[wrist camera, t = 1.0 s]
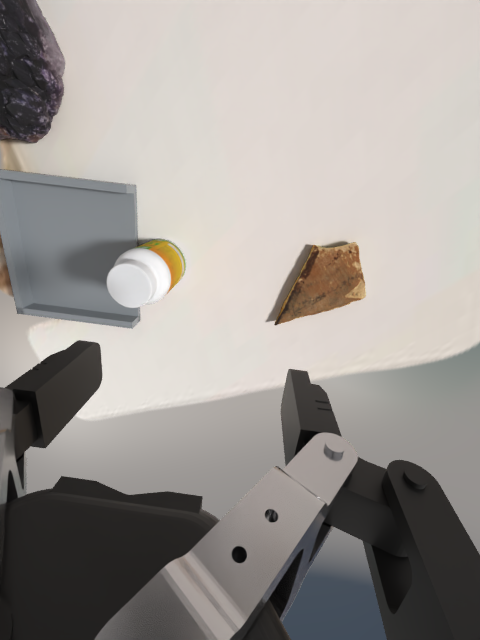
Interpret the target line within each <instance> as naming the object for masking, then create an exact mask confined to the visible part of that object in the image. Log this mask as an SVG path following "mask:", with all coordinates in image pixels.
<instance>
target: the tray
mask: <svg viewBox="0 0 480 640" xmlns="http://www.w3.org/2000/svg"><path fill="white" fill-rule="evenodd" d="M0 234H1V239H2V243H3V248H4V253H5V257H6V262H7V267H8V272H9V276H10V281H11V286H12V290H13V295H14V300H15V304H16V309H17V313H18V314H25V315H32V316H40V317H48V318H55V319H63V320H71V321H79V322H86V323H94V324H102V325H109V326H117V327H125V328H132V329H133V327H134V326H135V325H136V324H137V323H138V322H139V321H140V307H137V308H129V307H125V306H123V305H121V304H119V303H118V302H116V301H115V300H114V299H113V298H112V296H111V295H110V293H109V291H108V288H107V276H108V273H109V272H110V270H111V269H112V268H113V267H114V265H115V262H116V260H117V259H118V258H119V256H120V255H122V254H123V253H124V252H126V251H128V250H130V249H133V248H135V247H138V231H137V198H136V185H130V184H122V183H113V182H105V181H96V180H88V179H80V178H71V177H63V176H54V175H46V174H38V173H29V172H21V171H12V170H3V169H0Z"/></svg>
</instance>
